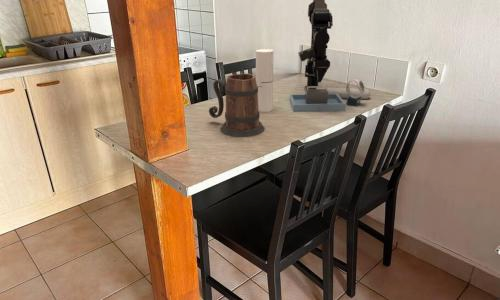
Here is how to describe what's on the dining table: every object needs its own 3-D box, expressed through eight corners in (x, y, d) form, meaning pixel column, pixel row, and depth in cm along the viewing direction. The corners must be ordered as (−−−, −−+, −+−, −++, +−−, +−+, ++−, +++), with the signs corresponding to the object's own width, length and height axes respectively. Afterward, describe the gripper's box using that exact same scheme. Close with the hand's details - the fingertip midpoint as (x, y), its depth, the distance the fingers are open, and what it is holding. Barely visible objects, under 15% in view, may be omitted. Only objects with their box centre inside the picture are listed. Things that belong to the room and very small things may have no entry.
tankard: (273, 125, 143) (273, 74, 134) (249, 140, 130) (248, 84, 121) (223, 115, 154) (221, 67, 146) (197, 128, 141) (193, 76, 133)
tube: (370, 88, 174) (316, 87, 178) (371, 88, 169) (316, 86, 173) (369, 100, 175) (315, 98, 179) (370, 99, 170) (315, 97, 173)
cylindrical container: (271, 112, 157) (271, 52, 147) (254, 111, 158) (254, 51, 148) (273, 107, 163) (274, 49, 153) (257, 106, 165) (257, 48, 154)
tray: (289, 100, 172) (289, 94, 171) (336, 99, 172) (337, 93, 171) (293, 111, 157) (293, 104, 156) (345, 110, 157) (345, 104, 156)
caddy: (305, 102, 167) (305, 84, 163) (325, 101, 166) (326, 84, 163) (306, 105, 162) (307, 87, 159) (327, 105, 162) (328, 87, 159)
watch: (360, 107, 161) (363, 82, 157) (342, 104, 165) (345, 80, 161) (364, 103, 166) (367, 79, 161) (347, 101, 170) (349, 77, 165)
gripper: (297, 39, 162) (296, 75, 168) (303, 46, 145) (301, 85, 151) (323, 39, 162) (320, 74, 168) (331, 45, 145) (329, 85, 151)
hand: (317, 79), depth 160 cm, fingers open, 9 cm apart
